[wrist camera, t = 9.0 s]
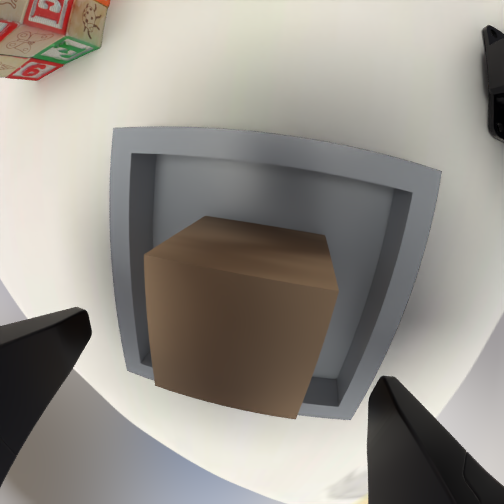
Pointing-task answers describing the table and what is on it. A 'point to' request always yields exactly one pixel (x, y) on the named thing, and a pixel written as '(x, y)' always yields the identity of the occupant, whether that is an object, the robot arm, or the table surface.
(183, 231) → the walnut cube
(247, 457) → the table surface
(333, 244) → the grey tray
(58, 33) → the stack of blocks
